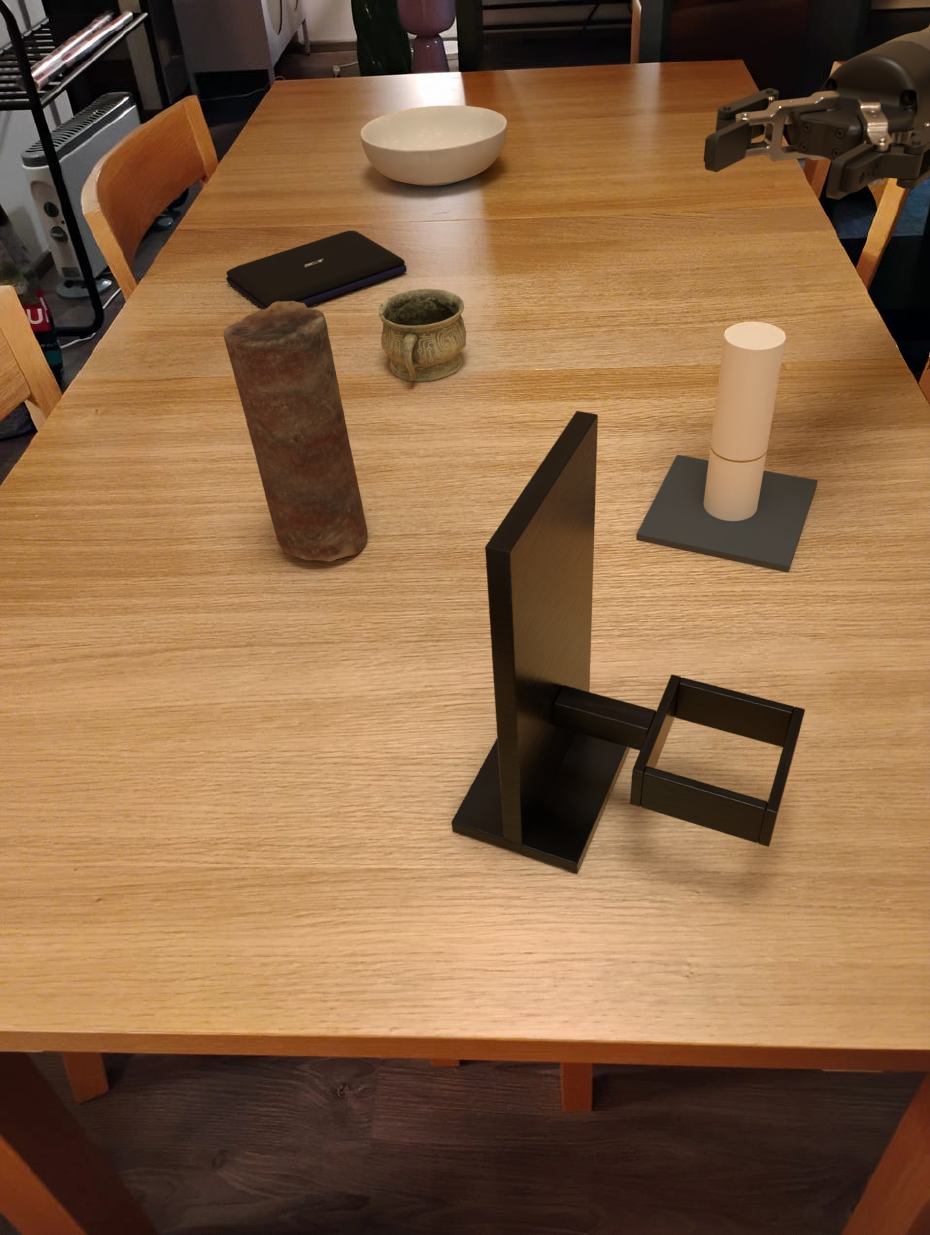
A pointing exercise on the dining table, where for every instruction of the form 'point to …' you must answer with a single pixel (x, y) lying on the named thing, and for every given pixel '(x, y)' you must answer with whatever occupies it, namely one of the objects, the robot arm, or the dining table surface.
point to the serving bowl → (434, 143)
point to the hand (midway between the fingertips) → (769, 167)
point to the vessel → (423, 333)
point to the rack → (587, 691)
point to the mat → (749, 541)
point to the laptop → (316, 270)
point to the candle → (298, 430)
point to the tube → (743, 418)
